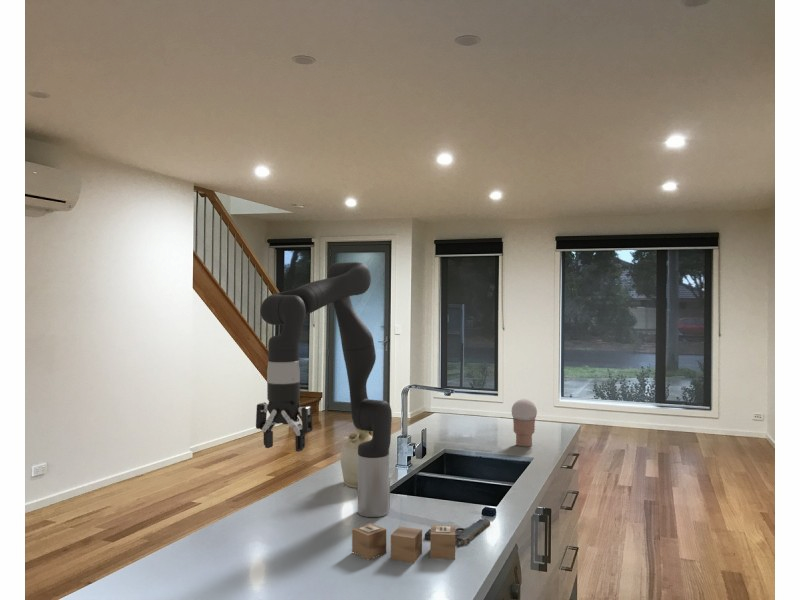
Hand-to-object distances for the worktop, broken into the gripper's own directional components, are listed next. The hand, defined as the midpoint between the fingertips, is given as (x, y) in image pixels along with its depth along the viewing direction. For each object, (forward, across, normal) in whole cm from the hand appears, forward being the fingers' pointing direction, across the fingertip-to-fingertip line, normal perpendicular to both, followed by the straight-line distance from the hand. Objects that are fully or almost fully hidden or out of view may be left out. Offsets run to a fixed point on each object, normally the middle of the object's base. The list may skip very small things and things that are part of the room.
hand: (283, 449), depth 144 cm
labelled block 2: (+28, -31, -23) cm, 48 cm away
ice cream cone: (+30, -25, -146) cm, 151 cm away
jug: (+29, +14, -67) cm, 74 cm away
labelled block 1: (+28, -14, -16) cm, 35 cm away
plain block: (+28, -24, -17) cm, 41 cm away
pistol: (+29, -30, -38) cm, 57 cm away
